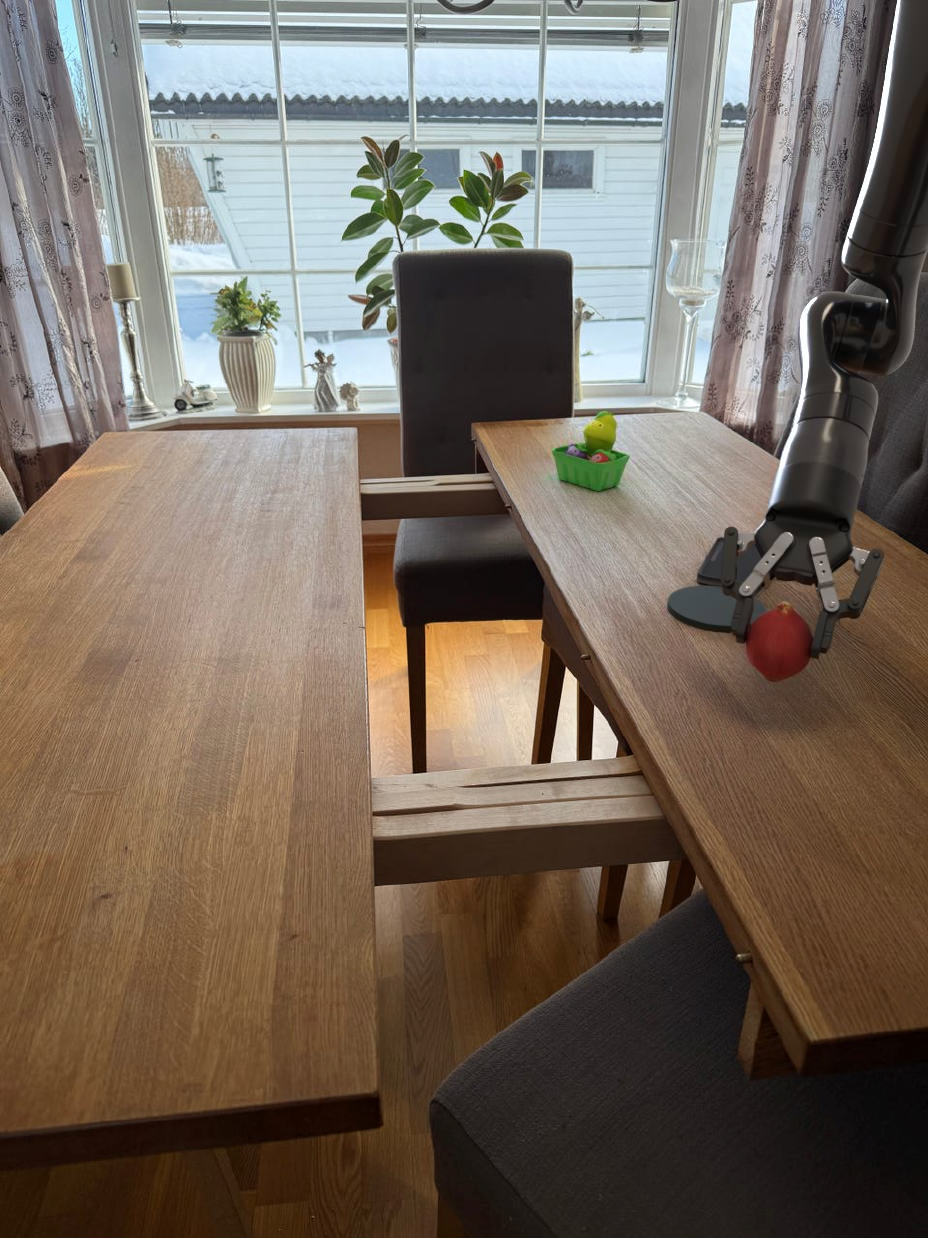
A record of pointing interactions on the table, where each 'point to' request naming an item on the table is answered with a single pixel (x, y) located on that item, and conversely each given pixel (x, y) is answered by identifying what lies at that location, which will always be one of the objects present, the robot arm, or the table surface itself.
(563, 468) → the fruit basket
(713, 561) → the phone
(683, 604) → the dark grey flat disc
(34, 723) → the table surface
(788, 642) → the onion
